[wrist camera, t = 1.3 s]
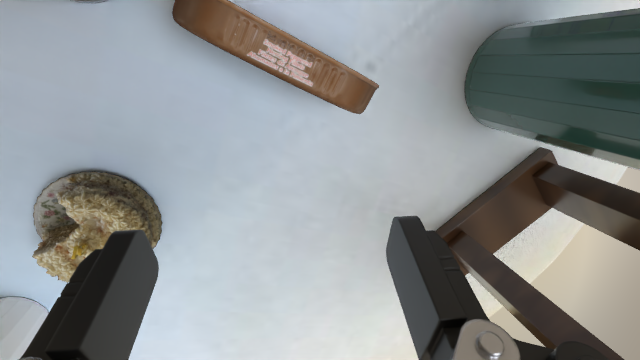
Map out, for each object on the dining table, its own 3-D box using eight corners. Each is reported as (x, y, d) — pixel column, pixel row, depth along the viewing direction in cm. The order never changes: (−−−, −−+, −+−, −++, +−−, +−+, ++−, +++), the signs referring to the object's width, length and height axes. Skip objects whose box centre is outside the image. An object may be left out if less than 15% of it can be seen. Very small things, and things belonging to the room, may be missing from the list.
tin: (360, 78, 29) (401, 85, 21) (344, 109, 30) (378, 128, 22) (194, -14, 24) (169, -48, 16) (180, 27, 25) (149, 13, 17)
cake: (177, 188, 30) (169, 216, 25) (147, 274, 32) (134, 314, 27) (47, 152, 26) (8, 178, 21) (25, 254, 28) (-15, 297, 23)
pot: (457, 45, 30) (837, 21, 11) (551, 9, 31) (1063, -73, 11) (471, 141, 34) (763, 251, 15) (553, 108, 35) (935, 171, 15)
